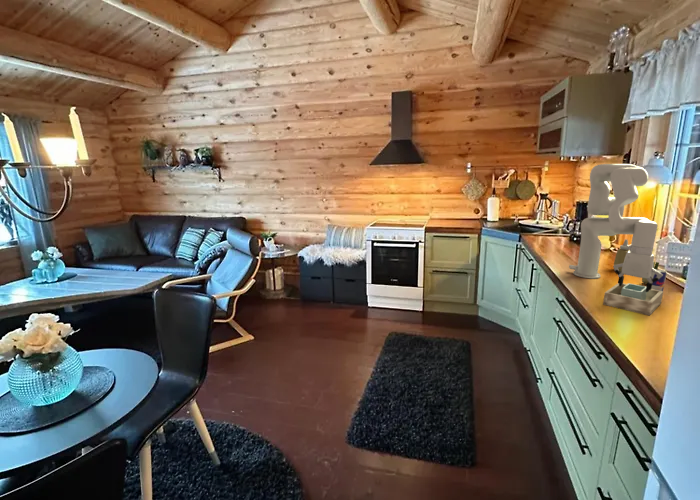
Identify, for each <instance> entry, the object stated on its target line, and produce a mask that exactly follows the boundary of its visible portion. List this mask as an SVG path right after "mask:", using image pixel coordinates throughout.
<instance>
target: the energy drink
mask: <svg viewBox="0 0 700 500" xmlns="http://www.w3.org/2000/svg"><path fill="white" fill-rule="evenodd" d="M655 270H657V271H659V272H660V273H662V274H663V276H662V277H661V278H660V279H659V280H657V281H655V282H653V284H652V288H651V289H654V290H659V291H663V292H664V288H665V283H666V280H667V279H666V278H667V271H666V270H663V269H660V268H658V269H655ZM651 277H652V278H653V279H654V278H656V277H657V275H656V274H654V273H652V275H651Z"/></svg>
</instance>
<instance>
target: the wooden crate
mask: <svg viewBox="0 0 700 500" xmlns="http://www.w3.org/2000/svg"><path fill="white" fill-rule="evenodd" d="M627 284H628V283H623V285H621V286H619V283H618V282H617V283H616V284H615V285H613V286H612V287H610V288H609V289H608V290H606V291H605V292H604V295H603V296H604V297H603V302H602V305H604V306H608V307H611V306H612V308H615V307H616V309H619V308H620V309H621V310H624V311H628V312H632V313H637V314H641V315H646V316H649V317H650V316H651V315H652V314H653V312H655V311H656V309H658V307H659V306H660V305H661V304H662V301H663V295H664V290H663V291H659V290H654V289H651V290H649V291H648V292H647V294H646V299H645V300H641V299H636V298H631V297H627V296H622V295H621V290H622V288H623V287H624V286H625V285H627Z"/></svg>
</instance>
